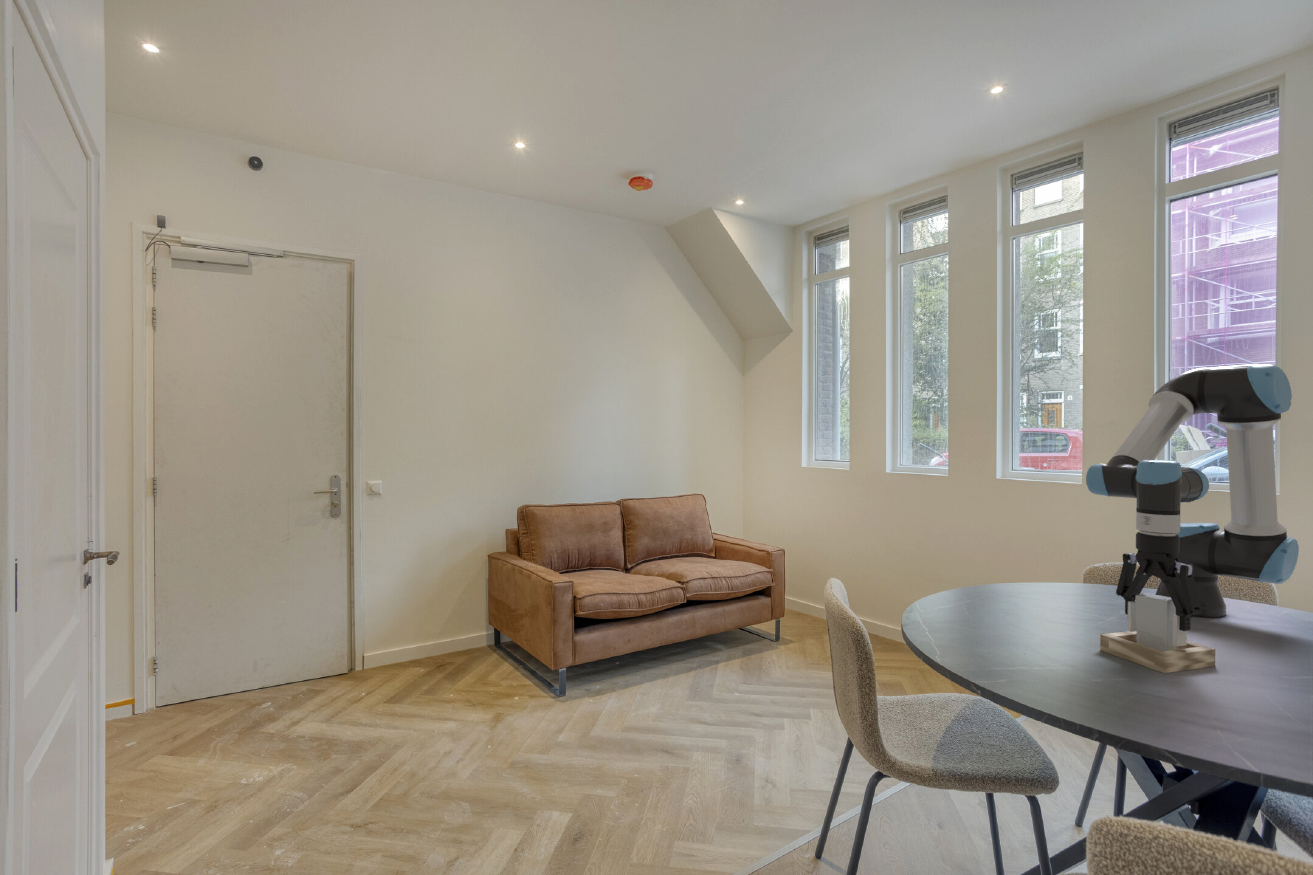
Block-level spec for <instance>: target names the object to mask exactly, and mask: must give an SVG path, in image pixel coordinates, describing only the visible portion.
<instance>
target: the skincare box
mask: <svg viewBox="0 0 1313 875" xmlns="http://www.w3.org/2000/svg"><path fill="white" fill-rule="evenodd" d="M1135 601H1136V634H1137V644H1140V645H1143V646H1146V647H1150V648H1153V649H1156V650H1159V651H1162V652H1163V651H1170V650H1176V646H1173V614H1175V613H1176V608H1175V606H1174V603H1173V601H1172V599H1171V597H1165V596H1160V595H1155V594H1153V593H1148V592H1141V593H1140V594H1139V595H1136V600H1135Z"/></svg>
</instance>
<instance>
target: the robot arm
mask: <svg viewBox="0 0 1313 875" xmlns="http://www.w3.org/2000/svg"><path fill="white" fill-rule="evenodd" d="M1292 398H1293V395H1292V389H1291V385H1290V381H1289V379H1288V376H1287V374H1286V373H1285V371H1284V370H1283V369H1282V368H1281V367H1280V366H1278V365H1276V364H1267V363H1264V364H1263V363H1262V364H1261V363H1260V364H1259V363H1258V364H1257V363H1250V364H1238V365H1237V364H1236V365H1225V366H1214V367H1209V366H1206V367H1198V368H1194V369H1190V370H1187V371H1185V372H1183V373H1181V374H1178V375H1177V376H1175V377H1173V378H1171V379H1170V380H1169V381H1167V382H1166V383H1164V384H1163V385H1162V386H1160V387H1159V388H1158V389H1157V390H1156V391H1155V393H1153V395H1152V396H1151V397H1150V399H1149V400H1148V401H1149V402H1148V409H1147V410H1146V412H1145V413H1144V414H1143V416H1142V417H1141V419H1139V421H1138V422H1137V423H1136V425H1135V426H1134V428H1133V429H1132V430H1131V431H1130V433H1129V434H1128V436H1127V437H1126V439H1125V440H1124V441H1123V442H1122V443H1121V445H1120V447H1118V449H1117V450H1116V452H1115V453H1114V454H1113V456H1112V457H1110V459H1109V461H1108V462H1107V463H1103V462H1102V463H1094V464H1093V465H1090V467H1088V469H1087V471H1086V474H1085V475H1086V476H1085V484H1086V486H1087V489H1088V491H1089V492H1090V493H1092V494H1093V495H1100V496H1105V497H1109V498H1110V497H1114V498H1128V499H1136V509H1135V511H1136V513H1135V514H1136V516H1135V517H1136V518H1135V529H1136V530H1137V531H1138V532H1136V533H1135V549H1136V550H1137V551H1136V553H1134V552H1127V553H1122V566H1121V571H1120V573H1119V574H1120V575H1119V579H1118V583H1117V586H1116V591H1115V594H1116V595H1117V596H1119V597H1122V598H1123V600H1124V612H1125V615H1127V631H1129V632H1135V631H1136V595H1139V594H1141V593H1142V591H1143V589H1144V588H1145V586H1146V584H1147V583H1148V581H1149V579H1150V578H1151V577H1153V576H1154V577H1156V578H1157V579H1160V581H1159V585H1158V587H1157V589H1156V591H1155V594H1154V595H1160V596H1165V597H1171V599H1172V601H1173V603H1174V606H1175V608H1176V613H1175V614H1173V646H1185V645H1187V641H1188V640H1187V638H1188V636H1187V634H1188V632H1190V630H1191V622H1192V620H1191V619H1192V618H1191V617H1192V616H1193V617H1206V618H1208V617H1209V618H1219V617H1224V616H1226V615H1227V604H1226V603H1225V600H1224V596H1223V594H1222V591H1221V589H1220V586H1219V576H1221V577H1229V578H1236V579H1241V580H1248V581H1253V582H1258V583H1261V584H1262V583H1268V584H1276V585H1280V584H1284V583H1286V582H1287V581H1289V579H1290V578H1291V576H1292V575H1293V574H1294V571H1295V569H1296V566H1297V563H1298V559H1299V552H1300V548H1299V544H1298V540H1297V539H1296V538H1293V537H1290V536H1289V537H1288V533H1287V532H1288V531H1287V528H1286V527H1285V526H1284V525H1283V524H1281V523H1280V522H1279V521H1278V504H1277V485H1276V484H1277V482H1276V465H1275V463H1276V462H1275V444H1274V443H1275V442H1274V426H1275V425H1276V424H1277V423H1278V422H1279V421H1280V420H1282V414H1283V413H1286V412H1289V410H1290V408H1291V406H1292ZM1199 414H1217V423H1219V424H1220V425H1222V426H1223V427H1224V428H1225V431H1226V432H1225V433H1226V434H1225V435H1226V449H1227V453H1226V454H1227V469H1228V482H1229V483H1228V484H1229V486H1228V487H1229V501H1230V519H1231V520H1230V521H1229V522H1227V523H1226V524H1225V525H1224V526H1223V530H1222V529H1221V528H1220V525H1219V524H1218V523H1215V522H1214V523H1213V522H1187V523H1186V522H1182V523H1181V505H1182V504H1181V503H1191V502H1194V501H1197V500H1200V499H1202V498H1203V497H1205V496H1206V494H1207V493H1208V492H1209V489H1210V481H1209V479H1208V477H1207V475H1206V474H1205V473H1204V472H1203V471H1202V470H1200V469H1197V468H1193V467H1189V466H1187V467H1186V466H1185V467H1184V466H1182V465H1181V463H1180V462H1178V461H1175V460H1166V459H1165V460H1164V459H1162V460H1161V459H1159V460H1158V459H1157V458H1158V456H1159V455H1160V453H1161V452H1162V450H1164V448H1165V446H1166V445H1167V443H1168V442H1169V441H1170V440H1171V438H1172V436H1173V435H1174V433H1175V432H1176V431H1177V429H1178V428H1179V427H1180V425H1181V424H1182V423H1185V422H1187V421H1189V420H1190V419H1191V418H1192V417H1193V415H1199ZM1137 563H1138V565H1139V566H1138V568H1137ZM1136 569H1137V570H1136Z"/></svg>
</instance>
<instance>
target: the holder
mask: <svg viewBox="0 0 1313 875" xmlns="http://www.w3.org/2000/svg"><path fill="white" fill-rule="evenodd" d="M1099 637H1100V640H1099V642H1100V643H1099V644H1100V645H1099V648H1100V649H1099V650H1100V651H1102V652H1104V653H1107V654H1110V655H1112V656H1114V657H1118V658H1121V659H1123V660H1127V661H1129V662H1132V663H1134V664H1137V665H1141V666H1144V667H1146V668H1148V669H1152V670H1154V671H1156V672H1159V673H1163V674H1169V673H1175V672H1182V671H1189V670H1196V669H1205V668H1210V667H1216V648H1212V647H1209V646H1206V645H1203V644H1200V643H1196V642H1193V641H1190V640H1187V645H1185V646H1176V650H1170V651H1163V652H1162V651H1159V650H1156V649H1153V648H1150V647H1146V646H1143V645H1140V644H1137V634H1136V631H1135V632H1129V631H1128V630H1127V631H1119V632H1111V633H1110V632H1109V633H1102V634H1100V636H1099Z"/></svg>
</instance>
